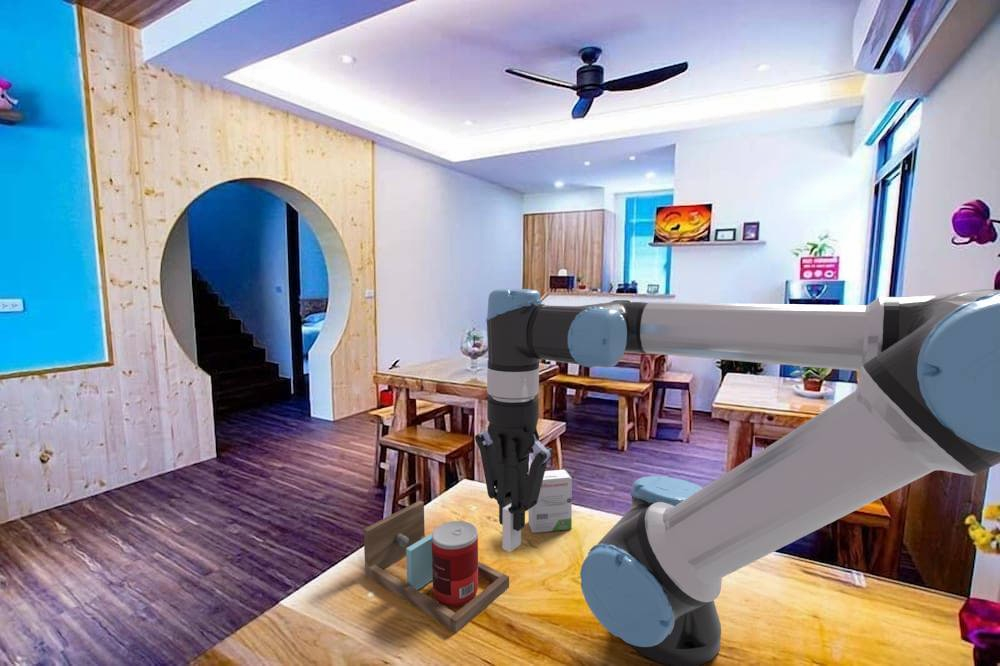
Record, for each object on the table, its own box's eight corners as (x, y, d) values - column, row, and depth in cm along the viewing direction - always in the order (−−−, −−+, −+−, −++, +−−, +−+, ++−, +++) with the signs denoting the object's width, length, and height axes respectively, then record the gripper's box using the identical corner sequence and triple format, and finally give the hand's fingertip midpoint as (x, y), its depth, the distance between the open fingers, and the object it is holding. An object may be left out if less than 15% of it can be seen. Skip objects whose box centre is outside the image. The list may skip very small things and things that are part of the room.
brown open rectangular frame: (509, 587, 83) (509, 538, 82) (456, 633, 72) (455, 578, 71) (420, 542, 96) (419, 500, 95) (365, 575, 86) (363, 528, 85)
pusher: (453, 564, 89) (453, 525, 88) (412, 593, 81) (410, 550, 80) (441, 558, 91) (440, 519, 90) (399, 586, 83) (398, 544, 82)
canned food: (482, 580, 85) (482, 522, 83) (471, 611, 77) (470, 548, 75) (441, 575, 86) (440, 517, 85) (426, 605, 78) (424, 542, 77)
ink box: (565, 518, 106) (566, 467, 104) (572, 530, 101) (573, 477, 99) (527, 522, 104) (527, 470, 103) (532, 534, 99) (532, 480, 98)
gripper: (565, 397, 68) (561, 550, 71) (494, 383, 76) (493, 522, 79) (535, 409, 62) (533, 575, 66) (462, 393, 70) (463, 542, 74)
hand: (511, 546), depth 72 cm, fingers closed
